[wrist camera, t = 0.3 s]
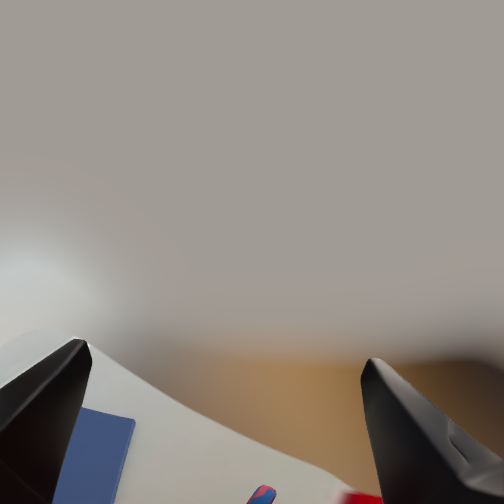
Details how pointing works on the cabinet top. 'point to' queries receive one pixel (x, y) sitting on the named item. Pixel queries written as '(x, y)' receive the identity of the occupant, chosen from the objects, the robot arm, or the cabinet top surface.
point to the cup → (263, 495)
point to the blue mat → (94, 459)
